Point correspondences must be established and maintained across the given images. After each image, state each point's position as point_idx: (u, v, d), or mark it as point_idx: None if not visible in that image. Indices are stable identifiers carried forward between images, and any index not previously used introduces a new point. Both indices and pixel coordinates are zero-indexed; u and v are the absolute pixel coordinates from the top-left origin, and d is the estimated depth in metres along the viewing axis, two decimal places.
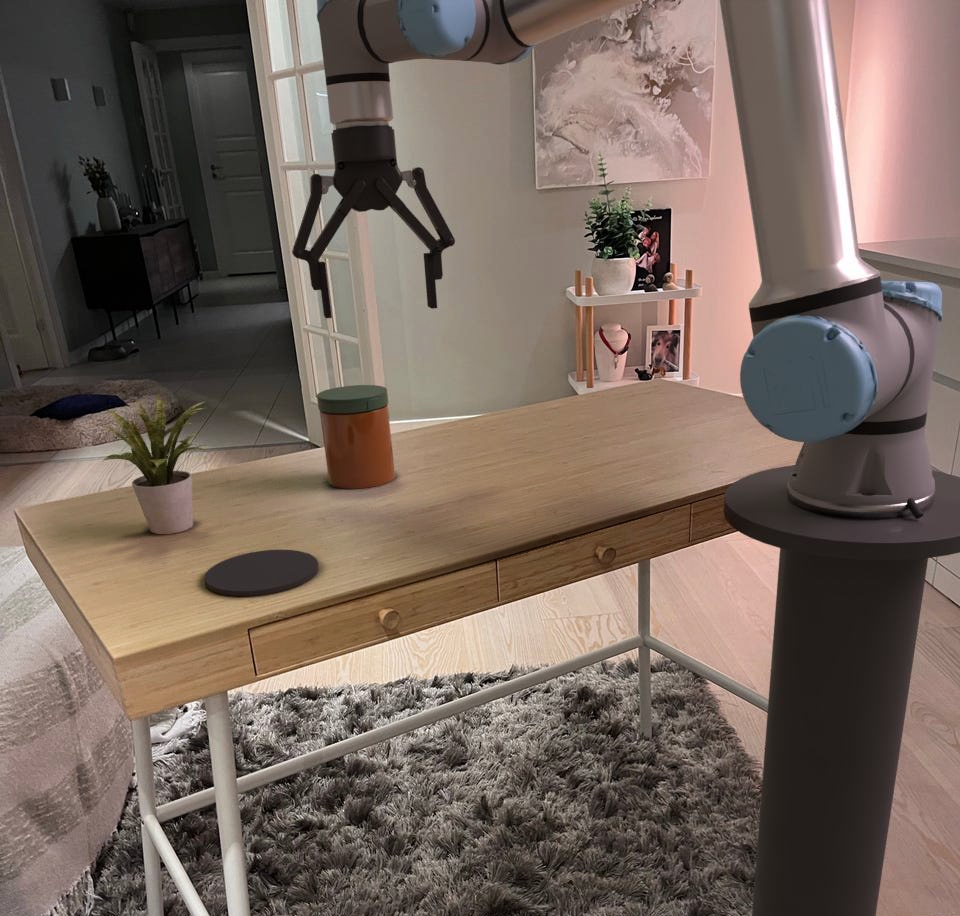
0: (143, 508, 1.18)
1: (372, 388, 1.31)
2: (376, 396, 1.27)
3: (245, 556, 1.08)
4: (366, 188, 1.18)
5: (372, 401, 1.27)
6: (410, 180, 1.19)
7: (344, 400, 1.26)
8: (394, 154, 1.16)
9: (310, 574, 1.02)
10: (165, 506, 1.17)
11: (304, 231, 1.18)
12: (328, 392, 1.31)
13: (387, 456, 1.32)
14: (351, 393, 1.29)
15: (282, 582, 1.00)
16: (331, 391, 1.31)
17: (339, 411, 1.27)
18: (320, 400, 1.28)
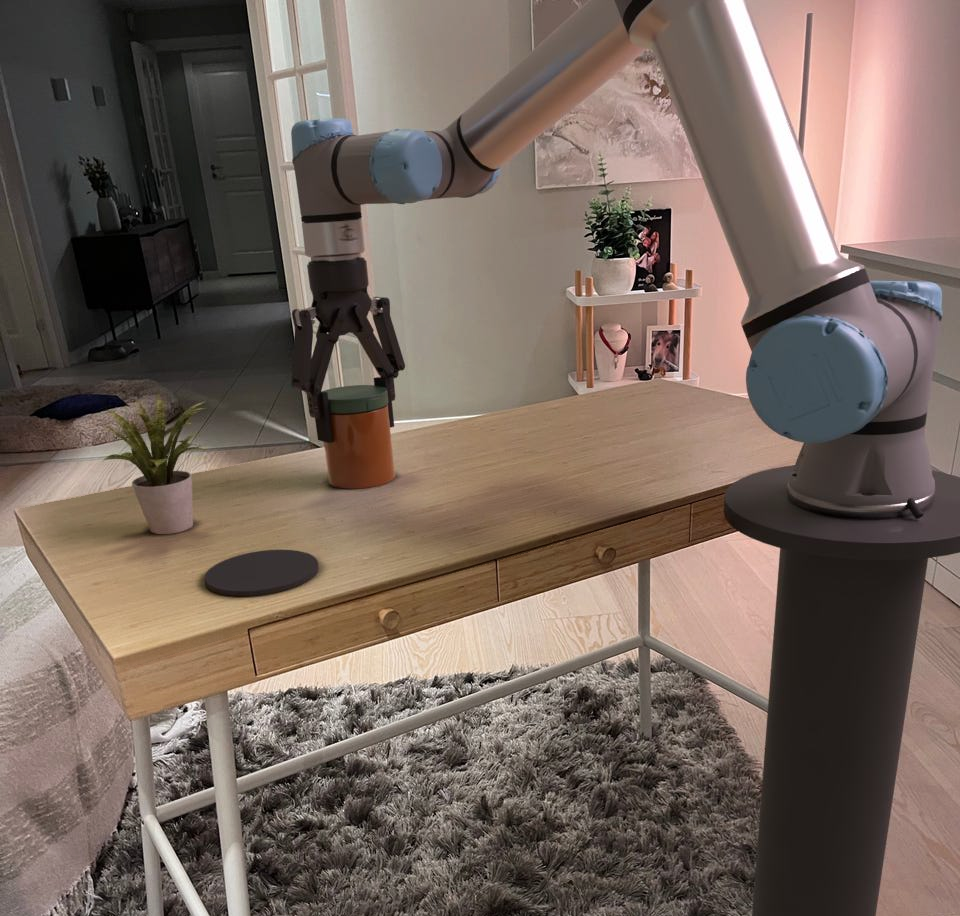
0: (143, 508, 1.18)
1: (372, 388, 1.32)
2: (376, 396, 1.27)
3: (245, 556, 1.08)
4: None
5: (372, 401, 1.27)
6: None
7: (344, 400, 1.26)
8: None
9: (310, 574, 1.02)
10: (165, 506, 1.17)
11: None
12: (328, 392, 1.31)
13: (387, 456, 1.32)
14: (351, 393, 1.29)
15: (282, 582, 1.00)
16: (331, 391, 1.31)
17: (339, 411, 1.27)
18: None
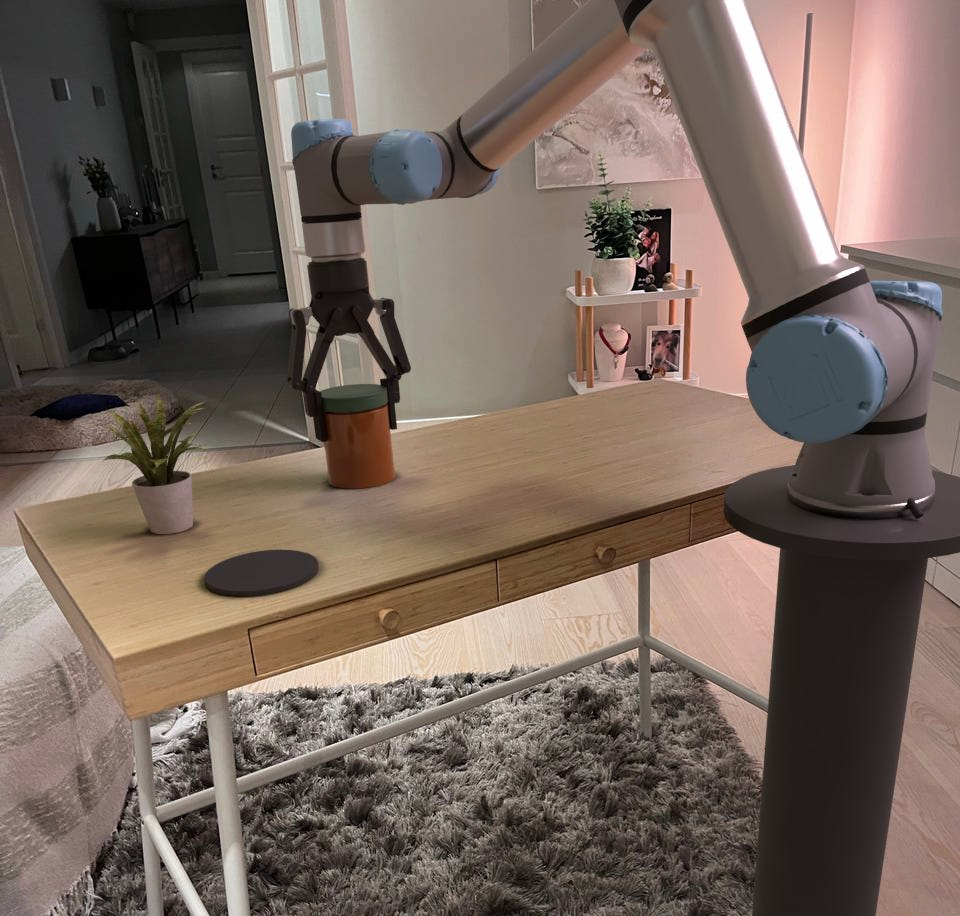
0: (143, 508, 1.18)
1: (329, 393, 1.29)
2: None
3: (245, 556, 1.08)
4: (342, 314, 1.25)
5: None
6: (380, 308, 1.27)
7: None
8: (368, 283, 1.24)
9: (310, 574, 1.02)
10: (165, 506, 1.17)
11: (298, 364, 1.24)
12: (372, 391, 1.29)
13: (387, 456, 1.32)
14: (354, 389, 1.31)
15: (282, 582, 1.00)
16: (368, 392, 1.28)
17: None
18: None
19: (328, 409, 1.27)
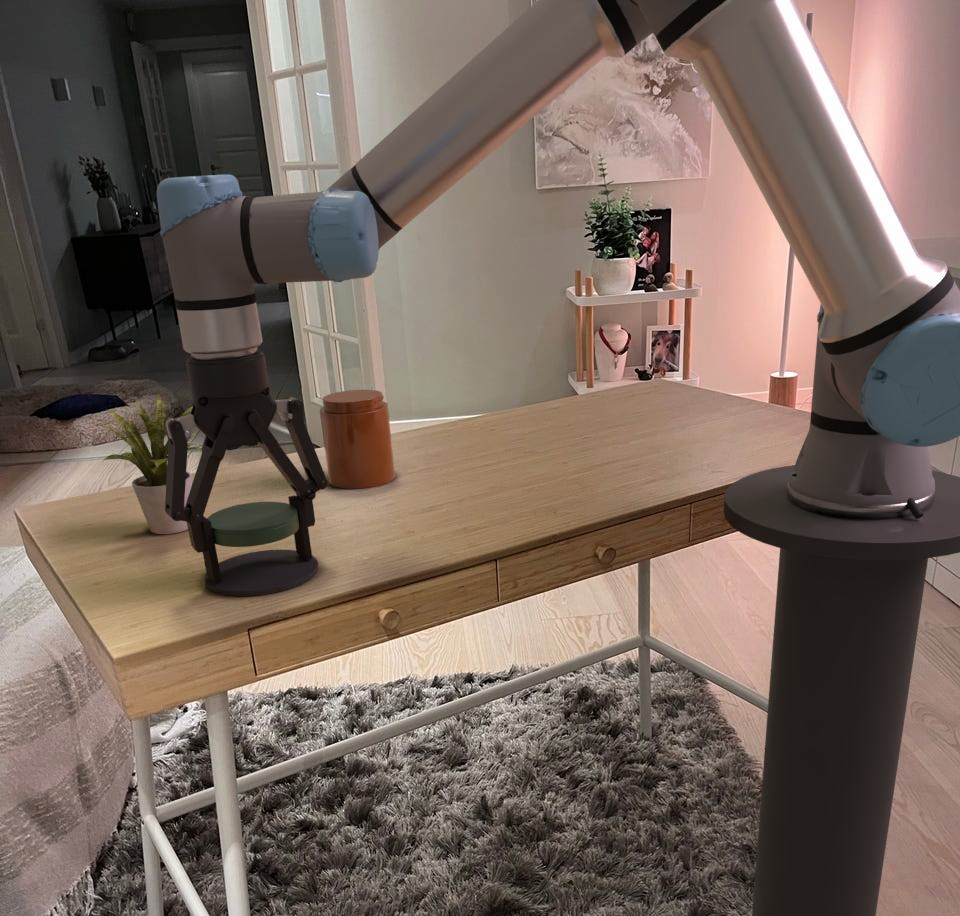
0: (143, 508, 1.18)
1: (221, 520, 1.00)
2: None
3: (245, 556, 1.08)
4: (235, 423, 0.96)
5: None
6: (285, 412, 0.99)
7: (272, 502, 1.05)
8: (268, 383, 0.96)
9: (310, 574, 1.02)
10: None
11: (178, 489, 0.95)
12: (278, 517, 1.00)
13: (387, 456, 1.32)
14: (254, 512, 1.02)
15: (282, 582, 1.00)
16: (273, 519, 1.00)
17: None
18: None
19: (221, 543, 0.98)
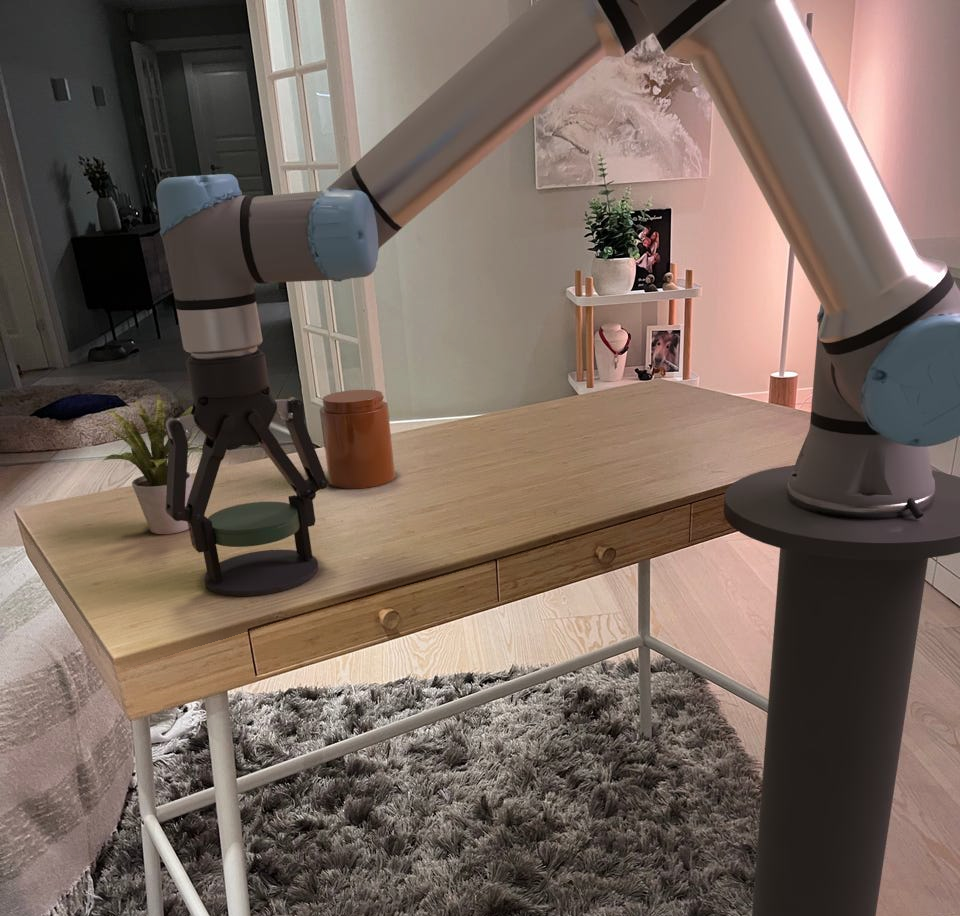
0: (143, 508, 1.18)
1: (222, 520, 1.00)
2: None
3: (245, 556, 1.08)
4: (235, 423, 0.96)
5: None
6: (285, 411, 0.99)
7: None
8: (268, 382, 0.96)
9: (310, 574, 1.02)
10: (165, 506, 1.17)
11: (178, 489, 0.95)
12: (279, 517, 1.00)
13: (387, 456, 1.32)
14: (255, 512, 1.02)
15: (282, 582, 1.00)
16: (274, 519, 1.00)
17: None
18: None
19: (221, 543, 0.98)
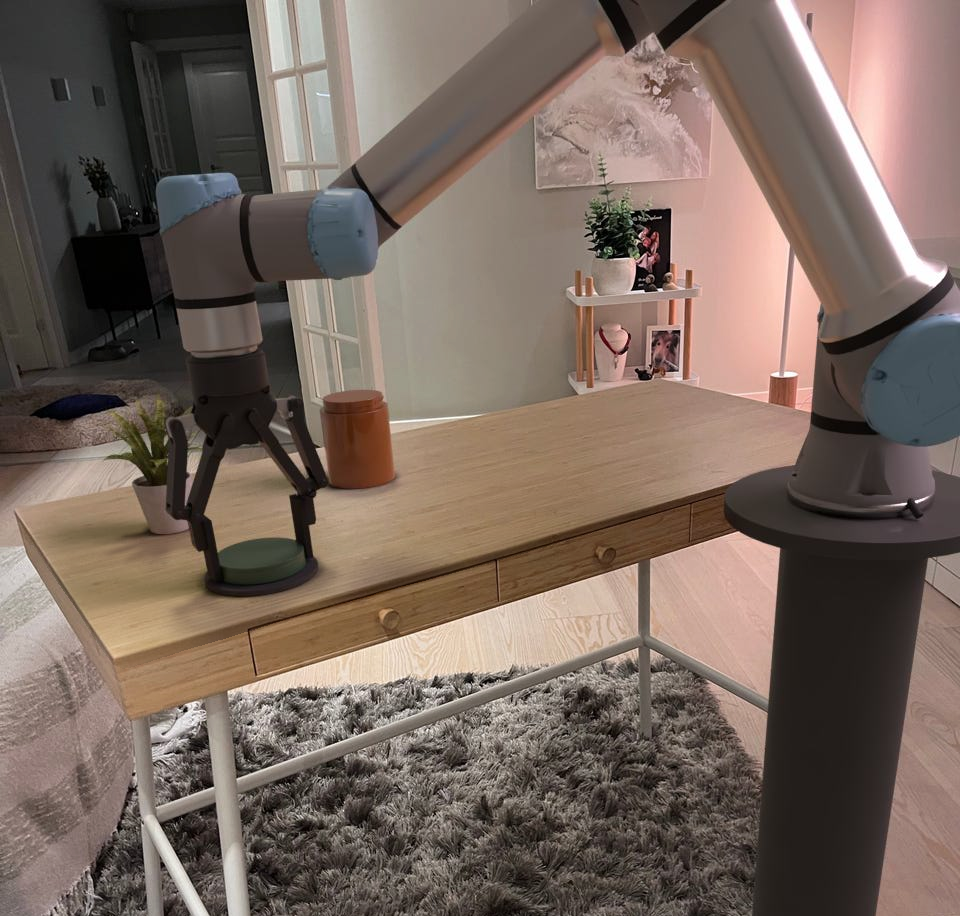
0: (143, 508, 1.18)
1: (230, 557, 1.02)
2: None
3: None
4: (236, 422, 0.96)
5: None
6: (285, 410, 0.99)
7: None
8: (268, 381, 0.95)
9: (310, 574, 1.02)
10: (165, 506, 1.17)
11: (178, 488, 0.95)
12: (285, 554, 1.02)
13: (387, 456, 1.32)
14: (262, 549, 1.04)
15: (282, 582, 1.00)
16: (280, 556, 1.01)
17: None
18: None
19: (229, 580, 1.00)
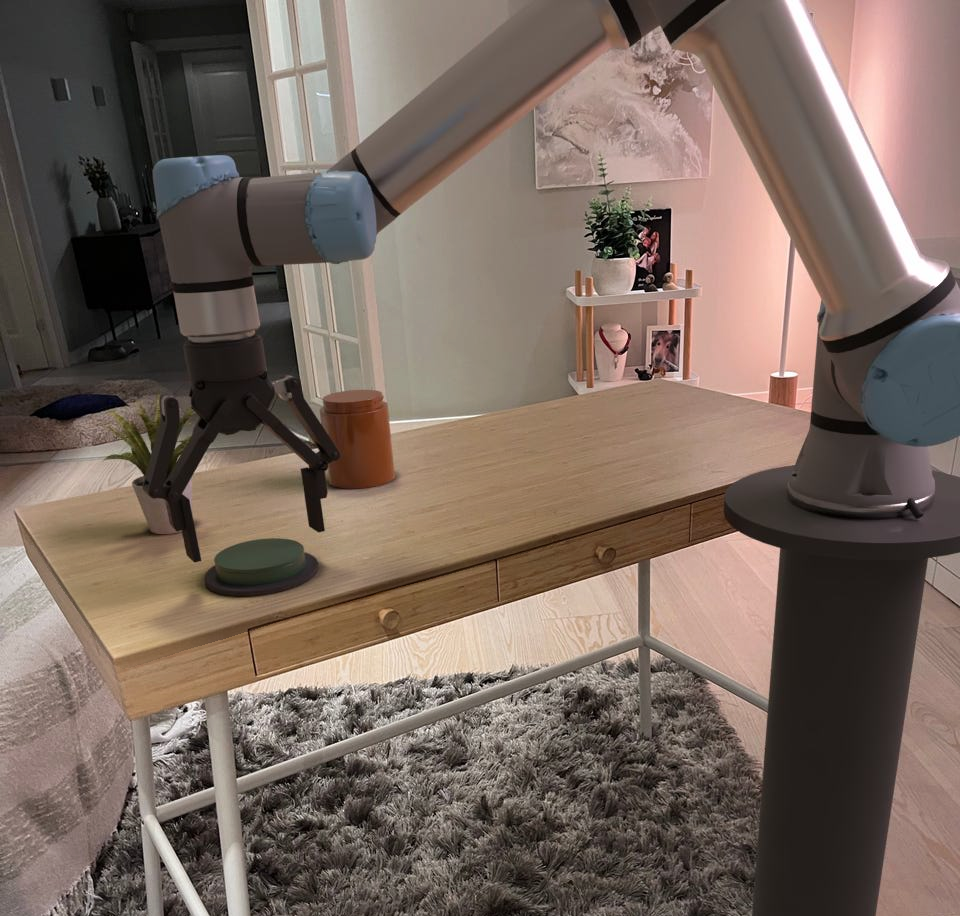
0: (143, 508, 1.18)
1: (230, 558, 1.02)
2: None
3: None
4: (233, 408, 0.95)
5: None
6: (283, 392, 0.98)
7: None
8: (265, 367, 0.95)
9: (310, 574, 1.02)
10: (165, 506, 1.17)
11: (161, 466, 0.93)
12: (285, 555, 1.02)
13: (387, 456, 1.32)
14: (262, 550, 1.04)
15: (282, 582, 1.00)
16: (281, 557, 1.01)
17: None
18: None
19: (229, 581, 1.00)
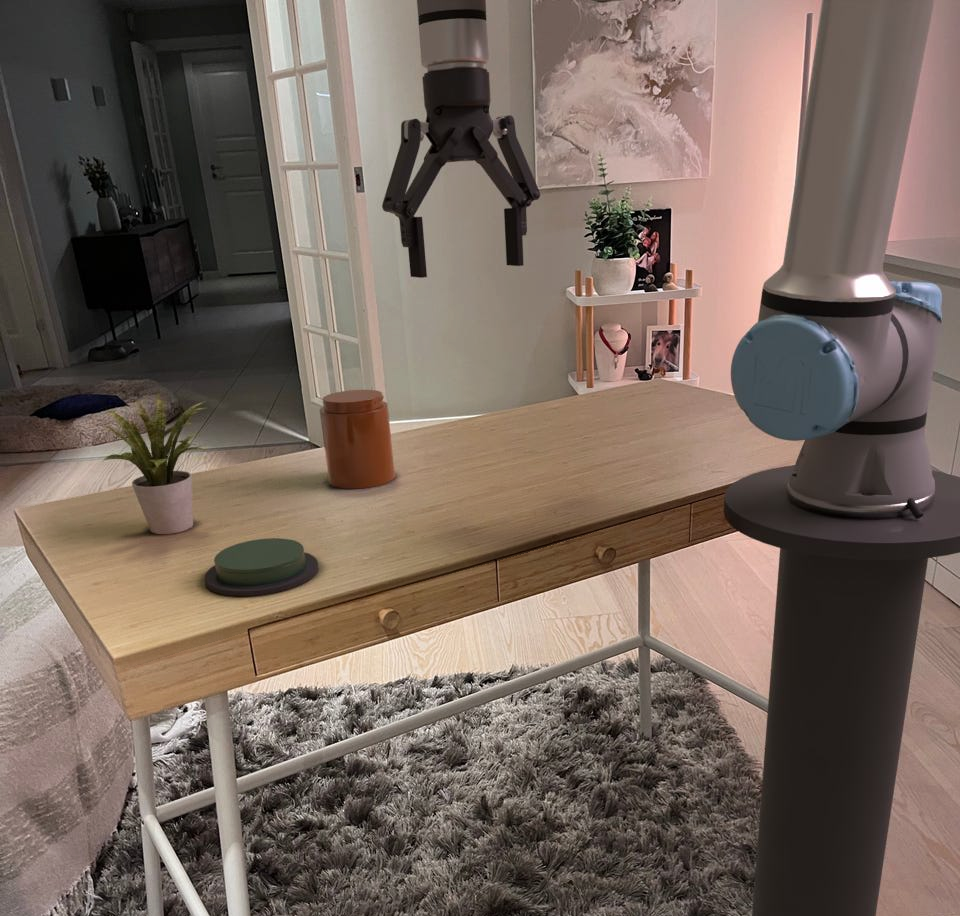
0: (143, 508, 1.18)
1: (230, 558, 1.02)
2: None
3: None
4: (461, 136, 1.10)
5: None
6: (499, 129, 1.13)
7: None
8: (490, 100, 1.10)
9: (310, 574, 1.02)
10: (165, 506, 1.17)
11: (402, 182, 1.08)
12: (285, 555, 1.02)
13: (387, 456, 1.32)
14: (262, 550, 1.04)
15: (282, 582, 1.00)
16: (281, 557, 1.01)
17: None
18: None
19: (229, 581, 1.00)
